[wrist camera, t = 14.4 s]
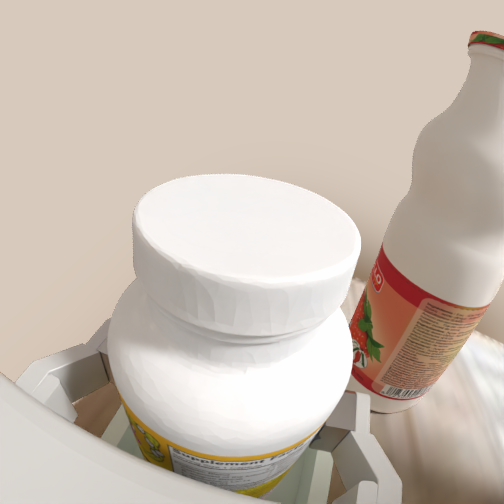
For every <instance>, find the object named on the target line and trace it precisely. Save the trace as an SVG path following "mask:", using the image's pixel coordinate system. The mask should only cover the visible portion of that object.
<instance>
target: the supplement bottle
mask: <svg viewBox="0 0 504 504" xmlns="http://www.w3.org/2000/svg"><path fill="white" fill-rule="evenodd" d="M132 230H133V262H134V270H135V274H136V276H137V278H136V279H135V280H134V281H133V282H132V283H131V284H130V285H129V287H128V288H127V289H126V290H125V292H124V293H123V294H122V296H121V297H120V299H119V301H118V303H117V305H116V307H115V309H114V312H113V314H112V317H111V321H110V325H109V330H108V340H107V349H108V357H109V363H110V367H111V371H112V374H113V378H114V381H115V384H116V387H117V390H118V393H119V396H120V398H121V401H122V404H123V407H124V410H125V412H126V415H127V417H128V420H129V423H130V426H131V428H132V431H133V433H134V436H135V439H136V441H137V443H138V446H139V448H140V450H141V453H142V455H143V457H144V460H145V461H148V462H150V463H152V464H155V465H157V466H160V467H162V468H164V469H167V470H169V471H172V472H175V473H177V474H180V475H183V476H185V477H188V478H191V479H194V480H197V481H200V482H203V483H206V484H209V485H212V486H215V487H218V488H222V489H225V490H228V491H232V492H236V493H239V494H243V495H247V496H251V497H255V498H259V499H263V498H265V497H266V496H267V495H268V494H269V493H270V492H271V491H272V490H273V489H274V488H275V487H276V486H277V485H278V484H279V482H280V481H281V480H282V479H283V477H284V476H285V475H286V474H287V473H288V471H289V470H290V469H291V467H292V466H293V465H294V464H295V462H296V461H297V460H298V458H299V457H300V456H301V454H302V453H303V452H304V450H305V449H306V447H307V446H308V445H309V444H310V442H311V441H312V439H313V438H314V437H315V435H316V434H317V433H318V431H319V430H320V428H321V427H322V426H323V424H324V423H325V421H326V420H327V419H328V418H329V416H330V415H331V413H332V411H333V410H334V408H335V407H336V405H337V404H338V402H339V400H340V399H341V397H342V395H343V393H344V391H345V389H346V387H347V384H348V382H349V378H350V375H351V370H352V363H353V345H352V338H351V333H350V330H349V326H348V324H347V321H346V318H345V316H344V314H343V312H342V311H341V309H340V305H341V304H342V303H343V301H344V300H345V297H346V295H347V292H348V289H349V286H350V282H351V279H352V276H353V273H354V269H355V266H356V263H357V260H358V257H359V254H360V248H361V238H360V234H359V231H358V229H357V227H356V225H355V224H354V222H353V221H352V219H350V217H349V216H348V215H347V214H346V213H345V212H344V211H343V210H342V209H340V208H339V207H338V206H336V205H335V204H333V203H332V202H330V201H328V200H327V199H325V198H323V197H322V196H320V195H318V194H316V193H313V192H311V191H309V190H306V189H304V188H301V187H298V186H295V185H292V184H289V183H285V182H282V181H278V180H273V179H269V178H264V177H257V176H251V175H244V174H209V175H208V174H207V175H194V176H189V177H183V178H178V179H174V180H171V181H169V182H166V183H164V184H161V185H159V186H157V187H155V188H153V189H152V190H150V191H149V192H147V193H146V194H145V195H144V196H143V197H142V198H141V199H140V200H139V202H138V203H137V205H136V206H135V209H134V212H133V218H132Z"/></svg>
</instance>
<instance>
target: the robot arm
mask: <svg viewBox="0 0 504 504" xmlns="http://www.w3.org/2000/svg"><path fill="white" fill-rule="evenodd" d="M110 321H111V318H109V319H108V320H106V321H105V322H104V324H103V325H102V326H101V327H100V328H99V329H98V330H97V332H96V333H95V334H94V335H93V336H92V338H91V339H90V340H89V341H88V342H87V343H86V345H85V344H80V345H77V346H74V347H71V348H69V349H66V350H63V351H61V352H58V353H55V354H53V355H49V356H47V357H44V358H41V359H39V360H36V361H33V362H32V363H31V364H30V365H29V367H28V368H27V369H26V370H25V371H24V372H23V374H22V375H21V376H20V377H19V378H18V379H17V381H16V382H15V383H13V382H12V381H11V380H10V379H8V378H7V377H6V376H5V375H3V374H2V373H1V372H0V504H282V503H277V502H273V501H268V500H264V499H259V498H255V497H251V496H247V495H243V494H239V493H236V492H232V491H228V490H225V489H222V488H218V487H215V486H212V485H209V484H206V483H203V482H200V481H197V480H194V479H191V478H188V477H185V476H183V475H180V474H177V473H175V472H172V471H169V470H167V469H164V468H162V467H160V466H157V465H155V464H152V463H150V462H148V461H145V460H143V459H141V458H139V457H137V456H134V455H132V454H130V453H128V452H126V451H124V450H122V449H120V448H118V447H116V446H114V445H112V444H110V443H108V442H106V441H104V440H102V439H100V438H98V437H97V436H95V435H93V434H91V433H89V432H88V431H86V430H84V429H82V428H81V427H79V426H77V425H75V424H74V423H73V422H74V421H75V419H76V418H77V416H78V415H77V411H76V410H75V408H74V406H73V404H72V403H73V402H75V401H76V400H78V399H80V398H82V397H84V396H86V395H88V394H90V393H91V392H93V391H95V390H97V389H99V388H101V387H103V386H104V385H106V384H108V383H109V382H111V383H113V384H115V381H114V378H113V374H112V371H111V367H110V363H109V357H108V349H107V340H108V330H109V325H110ZM115 385H116V384H115ZM369 432H370V396H369V394H364V393H358V392H355V391H350V390H345V391H344V393H343V395H342V397H341V399H340V400H339V402H338V404H337V405H336V407H335V408H334V410H333V411H332V413H331V415H330V416H329V418H328V419H327V420H326V421H325V423H324V424H323V426H322V427H321V428H320V430H319V431H318V433H317V434H316V435H315V437H314V438H313V439H312V441H311V442H310V444H309V448H311V449H316V450H320V451H325V452H330V453H331V456H332V458H333V460H334V463H335V465H336V468H337V470H338V473H339V475H340V477H341V480H342V482H343V485H344V487H345V489H346V493H344V494H343V495H341V496H340V497H338V498H337V499H335V500H334V501H332V504H401V503H402V481H401V479H400V478H399V476H398V474H397V473H396V471H395V469H394V468H393V466H392V464H391V463H390V461H389V459H388V458H387V456H386V454H385V453H384V451H383V450H382V448H381V446H380V445H379V443H378V441H377V440H376V438H375V436H374V435H373V434H369Z"/></svg>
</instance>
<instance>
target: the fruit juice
mask: <svg viewBox="0 0 504 504" xmlns="http://www.w3.org/2000/svg"><path fill="white" fill-rule="evenodd" d="M468 49H469V51H468V55H469V57H470V58H471V66H470V70H469V73H468V76H467V79H466V81H465V83H464V85H463V87H462V89H461V90H460V92H459V94H458V96H457V97H456V99H455V100H454V102H453V103H452V105H451V106H450V107H449V108H448V109H447V110H445V112H443V113H441V114H440V115H438V116H437V117H436V118H434V119H433V120H432V121H430V122H429V123H428V124H427V125H426V126H425V127H424V128H423V130H422V131H421V133H420V135H419V137H418V140H417V143H416V145H415V148H414V153H413V162H412V183H411V187H410V190H409V192H408V194H407V195H406V196H405V197H404V199H403V200H402V201H401V202H400V203H399V205H398V206H397V208H396V210H395V212H394V214H393V216H392V219H391V221H390V223H389V226H388V228H387V231H386V233H385V236H384V239H383V242H382V246H381V248H380V251H379V254H378V256H377V259H376V261H375V264H374V267H373V269H372V272H371V274H370V277H369V280H368V282H367V284H366V287H365V289H364V291H363V294H362V296H361V299H360V301H359V303H358V306H357V308H356V310H355V313H354V315H353V317H352V319H351V322H350V324H349V330H350V333H351V338H352V345H353V363H352V370H351V375H350V378H349V382H348V384H347V387H346V389H345V390H350V391H355V392H358V393H364V394H369V396H370V410H373V411H376V412H381V413H397V412H401V411H404V410H407V409H409V408H410V407H412V406H414V405H415V404H416V403H417V402H419V401H420V400H421V399H422V398H423V397H424V396H425V394H426V393H427V392H428V391H429V390H430V388H431V387H432V386H433V385H434V384H435V382H436V381H437V380H438V379H439V377H440V376H441V375H442V374H443V372H444V371H445V370H446V368H447V367H448V366H449V364H450V363H451V362H452V360H453V359H454V358H455V356H456V355H457V354H458V352H459V351H460V349H461V348H462V347H463V345H464V344H465V342H466V341H467V339H468V338H469V336H470V335H471V333H472V332H473V330H474V329H475V327H476V326H477V324H478V323H479V321H480V319H481V318H482V316H483V315H484V313H485V311H486V310H487V308H488V307H489V305H490V303H491V302H492V300H493V298H494V297H495V295H496V293H497V292H498V290H499V287H500V286H501V283H502V281H503V279H504V36H502V35H499V34H496V33H492V32H487V31H475V32H473V33H472V34H471V36H470V39H469V43H468Z"/></svg>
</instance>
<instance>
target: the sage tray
mask: <svg viewBox="0 0 504 504" xmlns="http://www.w3.org/2000/svg"><path fill="white" fill-rule="evenodd" d="M100 439H102V440H104V441H106V442H108V443H110V444H112V445H114V446H116V447H118V448H120V449H122V450H124V451H126V452H128V453H130V454H132V455H134V456H137V457H139V458H141V459H143V460H144V457H143V455H142V453H141V450H140V448H139V446H138V443H137V441H136V439H135V436H134V433H133V431H132V428H131V426H130V423H129V420H128V417H127V415H126V412H125V410H124V407H123V404H121V406H120V408H119V409H118V411H117V412H116V414H115V416H114V417H113V419H112V420H111V422H110V424H109V425H108V427H107V428H106V430H105V432H104V433H103V435H102V436H101V438H100ZM333 461H334V460H333V458H332V456H331V453H330V452H325V451H320V450H316V449H311V448H309V445H308V446H307V447H306V449H305V450H304V452H303V453H302V454H301V456H300V457H299V458H298V460H297V461H296V462H295V464H294V465H293V466H292V467H291V469H290V470H289V471H288V473H287V474H286V475H285V476H284V477H283V479H282V480H281V481H280V482H279V484H278V485H277V486H276V487H275V488H274V489H273V490H272V491H271V492H270V493H269V494H268V495H267V496H266V497H265V498H263V499H264V500H268V501H273V502H277V503H282V504H327V498H328V493H329V487H330V481H331V474H332V468H333Z"/></svg>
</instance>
